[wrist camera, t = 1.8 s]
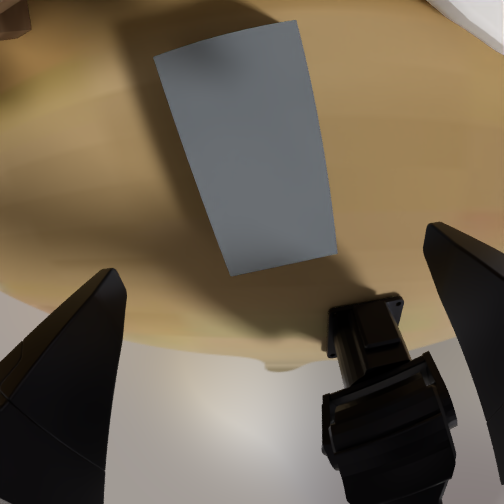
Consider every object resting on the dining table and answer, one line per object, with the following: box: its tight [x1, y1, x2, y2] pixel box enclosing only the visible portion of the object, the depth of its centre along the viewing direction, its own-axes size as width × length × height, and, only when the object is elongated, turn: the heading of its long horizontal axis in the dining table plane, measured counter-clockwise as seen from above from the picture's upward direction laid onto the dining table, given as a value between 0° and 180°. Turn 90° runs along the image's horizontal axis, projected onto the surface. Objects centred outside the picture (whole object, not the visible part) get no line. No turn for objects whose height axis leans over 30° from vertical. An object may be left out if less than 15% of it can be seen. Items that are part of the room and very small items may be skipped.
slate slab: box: [153, 20, 338, 276], centre depth 16 cm, size 12×6×4 cm, turn 14°
